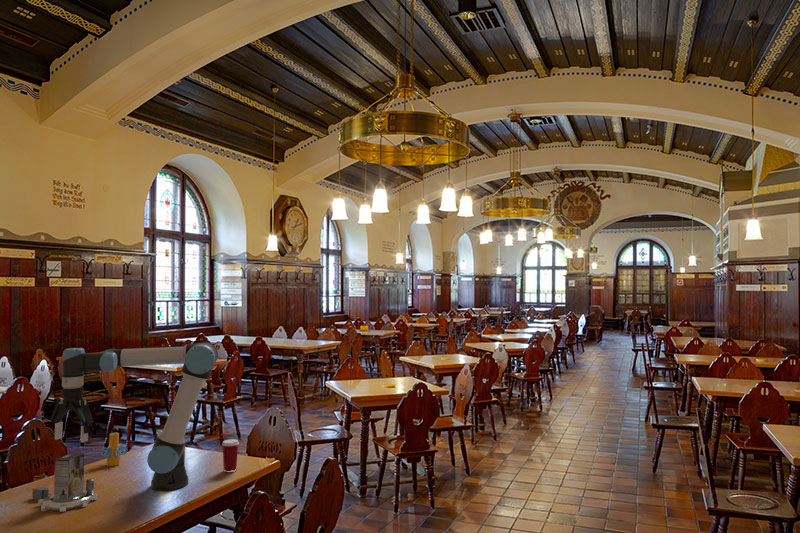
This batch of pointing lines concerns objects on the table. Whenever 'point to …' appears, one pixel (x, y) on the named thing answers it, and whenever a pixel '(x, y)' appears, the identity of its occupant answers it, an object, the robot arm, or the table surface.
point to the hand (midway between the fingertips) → (71, 440)
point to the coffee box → (68, 476)
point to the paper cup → (230, 454)
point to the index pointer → (40, 493)
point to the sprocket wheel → (76, 502)
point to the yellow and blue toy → (113, 450)
